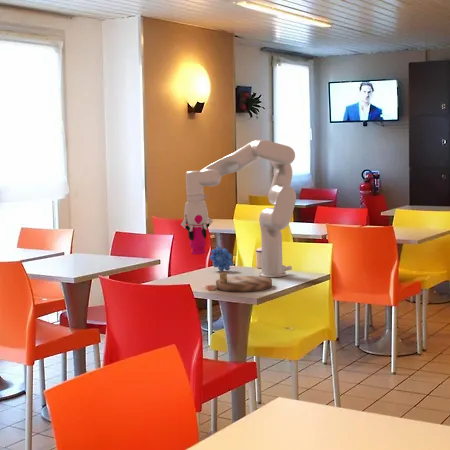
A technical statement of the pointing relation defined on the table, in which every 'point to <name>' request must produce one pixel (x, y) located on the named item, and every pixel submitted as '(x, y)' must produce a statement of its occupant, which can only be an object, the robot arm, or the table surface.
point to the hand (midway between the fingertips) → (197, 238)
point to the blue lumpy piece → (221, 258)
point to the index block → (209, 287)
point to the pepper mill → (198, 238)
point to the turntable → (243, 283)
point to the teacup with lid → (259, 257)
